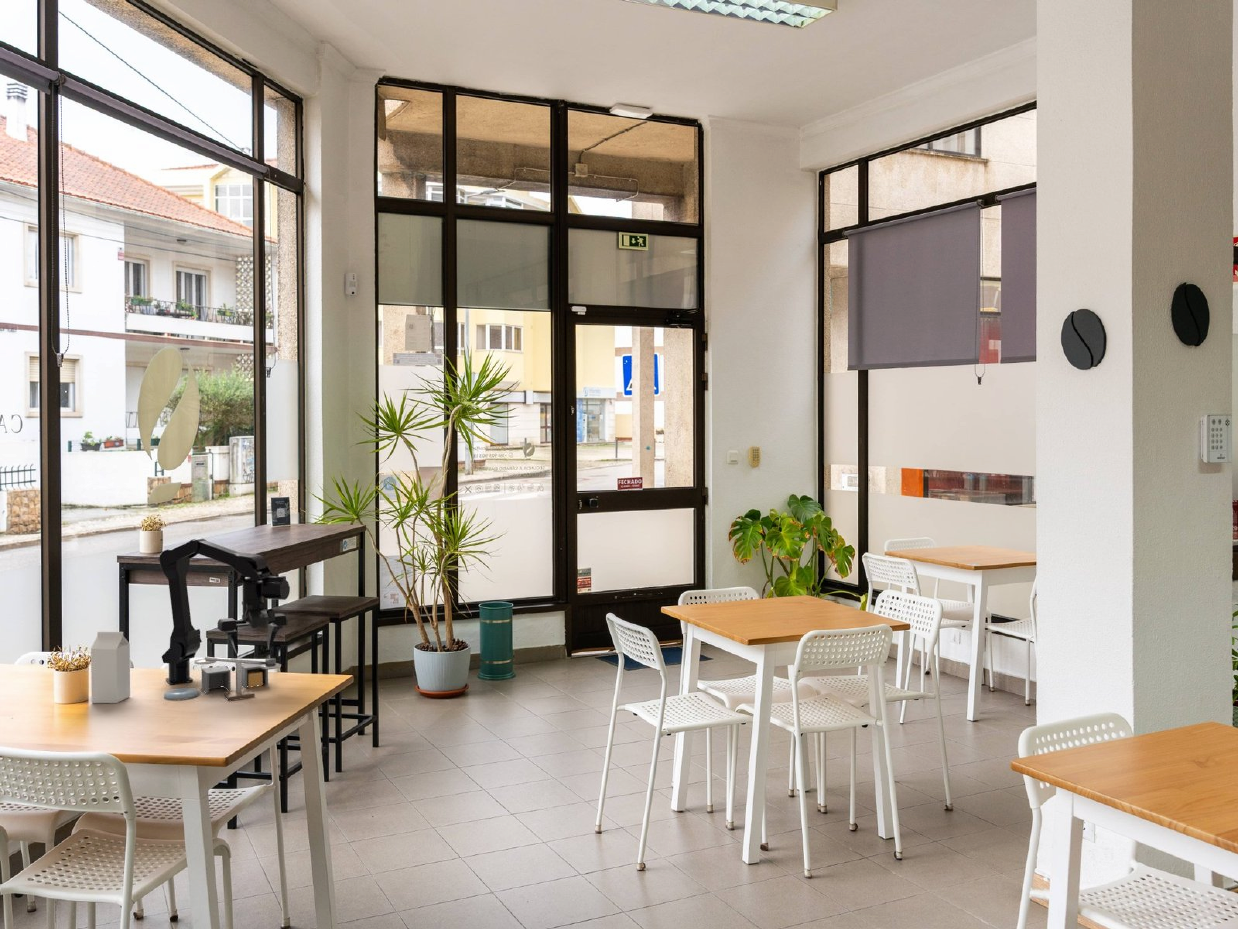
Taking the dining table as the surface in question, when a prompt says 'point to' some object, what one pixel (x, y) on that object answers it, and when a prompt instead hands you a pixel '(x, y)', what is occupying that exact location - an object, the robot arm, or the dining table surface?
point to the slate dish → (181, 693)
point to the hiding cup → (250, 667)
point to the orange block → (254, 678)
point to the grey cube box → (216, 678)
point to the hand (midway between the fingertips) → (253, 651)
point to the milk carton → (110, 668)
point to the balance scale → (240, 674)
